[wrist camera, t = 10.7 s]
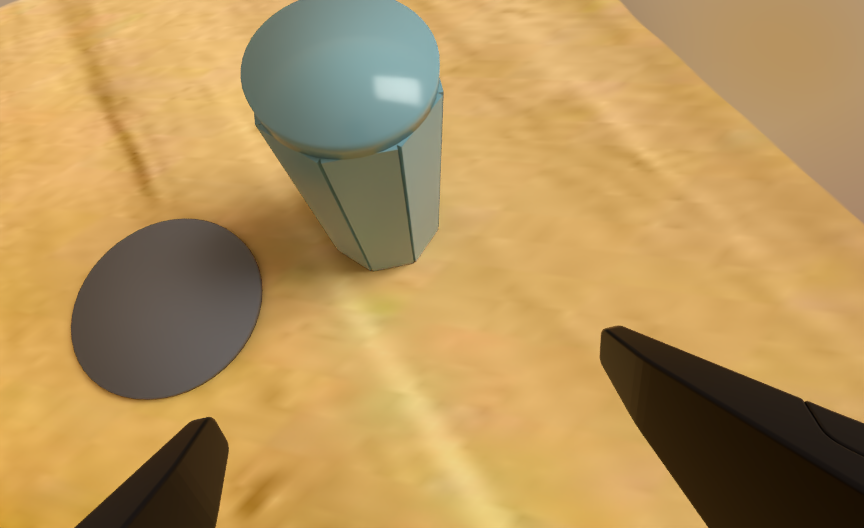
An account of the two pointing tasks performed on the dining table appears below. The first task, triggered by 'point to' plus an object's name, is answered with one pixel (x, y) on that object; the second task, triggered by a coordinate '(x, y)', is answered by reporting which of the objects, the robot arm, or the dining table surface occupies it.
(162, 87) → the dining table surface
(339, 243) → the blue-grey tall faceted cylinder
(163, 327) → the disc
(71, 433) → the dining table surface
